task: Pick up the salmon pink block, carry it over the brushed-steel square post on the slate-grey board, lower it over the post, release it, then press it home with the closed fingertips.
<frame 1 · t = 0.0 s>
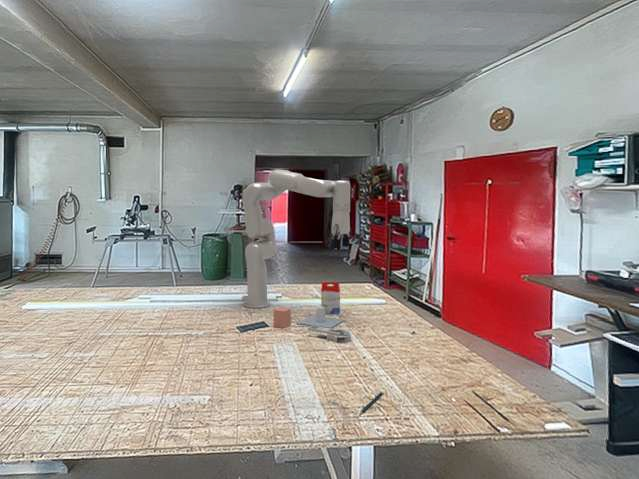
hand: (341, 247, 218), 31 cm above the table, fingers open, 9 cm apart
post fixture: (320, 322, 210), on the table
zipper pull: (329, 338, 188), on the table
ink box: (330, 312, 228), on the table
salmon pink block: (282, 325, 205), on the table
pencil: (370, 406, 129), on the table
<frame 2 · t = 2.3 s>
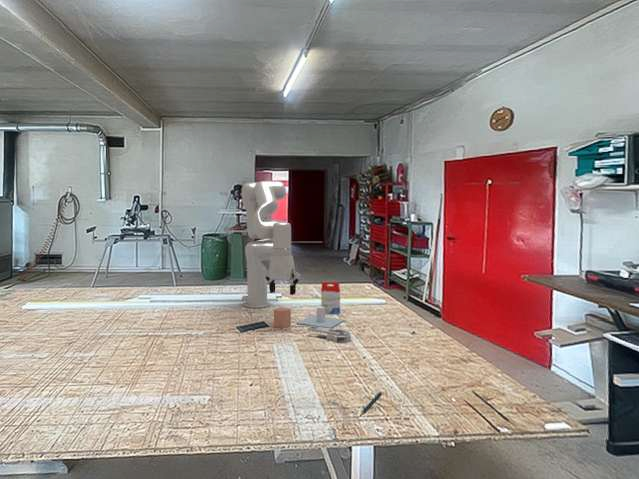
hand: (282, 293, 203), 14 cm above the table, fingers open, 9 cm apart
nothing on the table moved.
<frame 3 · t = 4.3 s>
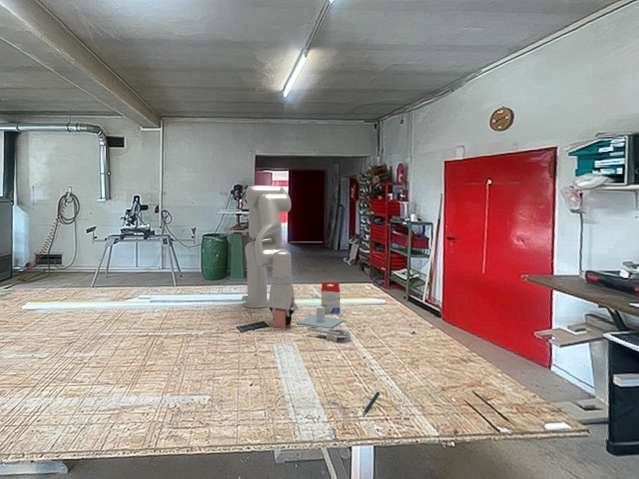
hand: (282, 323, 205), 1 cm above the table, fingers closed on salmon pink block, 5 cm apart
salmon pink block: (282, 325, 205), on the table, touching gripper
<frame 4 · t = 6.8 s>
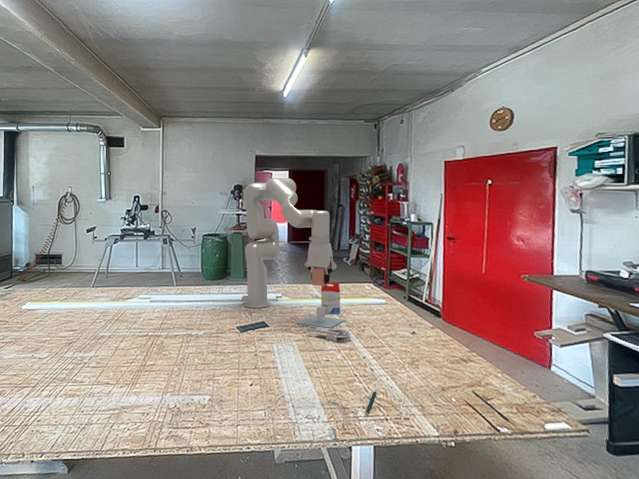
hand: (320, 282, 208), 17 cm above the table, fingers closed on salmon pink block, 5 cm apart
salmon pink block: (320, 284, 208), point 17 cm above the table, touching gripper
everything else where it was.
when the fingers open (3 cm above the table, at t = 9.6 s): salmon pink block drops 1 cm, resting on post fixture.
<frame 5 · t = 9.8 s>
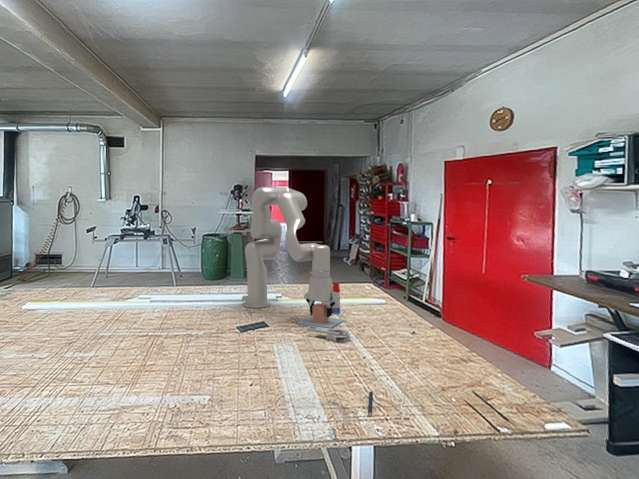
hand: (320, 315, 210), 3 cm above the table, fingers open, 7 cm apart
salmon pink block: (320, 321, 210), point 1 cm above the table, touching post fixture
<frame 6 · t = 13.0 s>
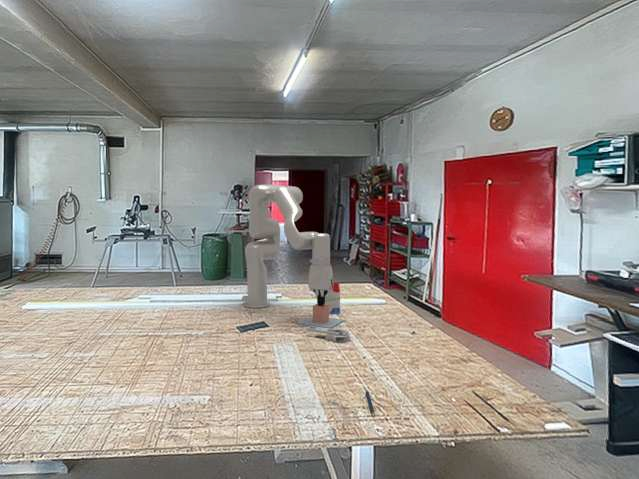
hand: (321, 305, 209), 8 cm above the table, fingers closed
salmon pink block: (320, 321, 210), point 1 cm above the table, touching gripper, post fixture
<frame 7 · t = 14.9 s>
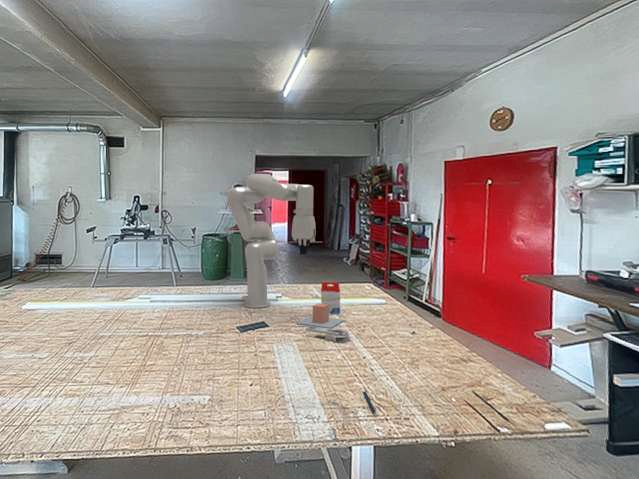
hand: (303, 254, 218), 28 cm above the table, fingers closed
salmon pink block: (320, 321, 210), point 1 cm above the table, touching post fixture
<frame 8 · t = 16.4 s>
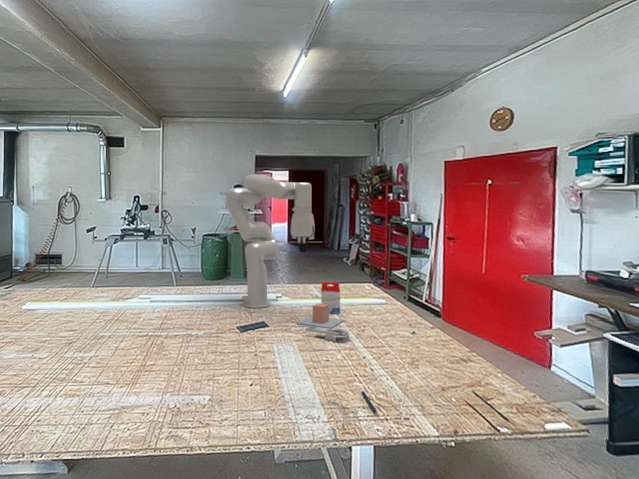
hand: (303, 251, 218), 29 cm above the table, fingers closed
at the end: salmon pink block 0.1 cm from the post fixture (horizontally); salmon pink block point 0.6 cm above the table; the gripper is holding nothing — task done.
